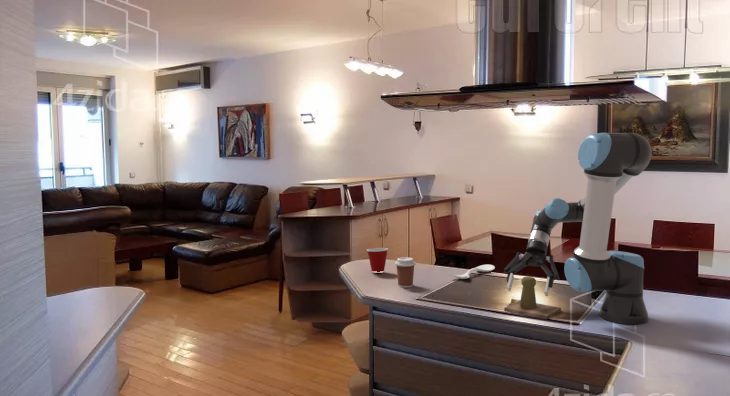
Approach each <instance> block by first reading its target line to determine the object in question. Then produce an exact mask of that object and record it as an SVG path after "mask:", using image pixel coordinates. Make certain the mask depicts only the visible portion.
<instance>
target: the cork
mask: <svg viewBox="0 0 730 396" xmlns="http://www.w3.org/2000/svg"><path fill="white" fill-rule="evenodd" d="M520 284H521V286H522V290H521V296H520V300H521V301H520V307H522V308H526V309H534V308H536V307H537V306H536V303H537V300H536V299H537V297H536V291H535V290H536V288H535V286H536V284H537V280H536V278H535V277H533V276H524V277H522V278H521V282H520Z"/></svg>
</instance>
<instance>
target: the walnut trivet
mask: <svg viewBox="0 0 730 396" xmlns="http://www.w3.org/2000/svg"><path fill="white" fill-rule="evenodd" d="M520 301H521V299H519V300H518V301H515V302H513V303H511V304H509V305H507V306H505V307H504V308H503V311H504V312H507V313H513V314H516V315H523V316H526V317H527V316H528V317H532V318H537V319H543V320H548V319H550V318H552V317H553V316H554V315H555V316H556V314H558V313H560V312H562V307H559V306H553V305H547V304H543V303H539V302H538V303H537V302H536V306H537V307H536V308H534V309H526V308H522V307H520Z"/></svg>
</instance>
